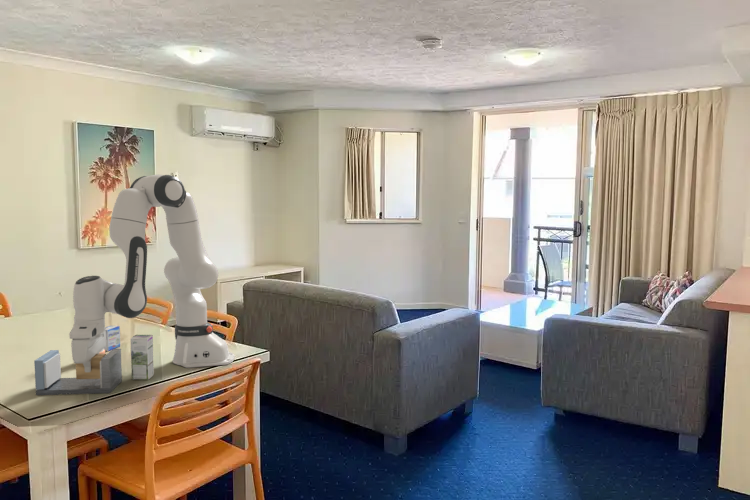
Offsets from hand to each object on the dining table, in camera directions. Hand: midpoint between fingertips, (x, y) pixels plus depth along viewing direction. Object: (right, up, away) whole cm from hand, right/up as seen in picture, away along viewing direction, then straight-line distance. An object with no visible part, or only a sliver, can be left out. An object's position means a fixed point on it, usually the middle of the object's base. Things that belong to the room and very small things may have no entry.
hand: (91, 369), depth 187 cm
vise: (-4, -6, 0) cm, 7 cm away
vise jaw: (-13, -4, -1) cm, 14 cm away
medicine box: (-15, -2, +47) cm, 49 cm away
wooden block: (0, -3, 0) cm, 3 cm away
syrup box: (+12, -5, +11) cm, 17 cm away
